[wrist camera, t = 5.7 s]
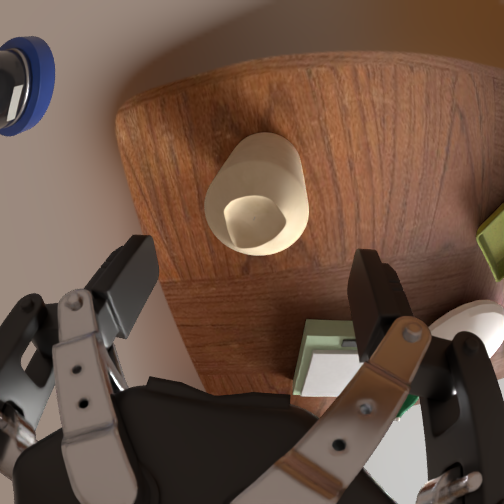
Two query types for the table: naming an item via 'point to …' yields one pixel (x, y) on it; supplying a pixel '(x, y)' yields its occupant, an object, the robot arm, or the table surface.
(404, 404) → the gaming controller
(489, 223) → the green square dish
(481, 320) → the vase
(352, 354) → the scale
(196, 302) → the table surface
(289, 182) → the candle
